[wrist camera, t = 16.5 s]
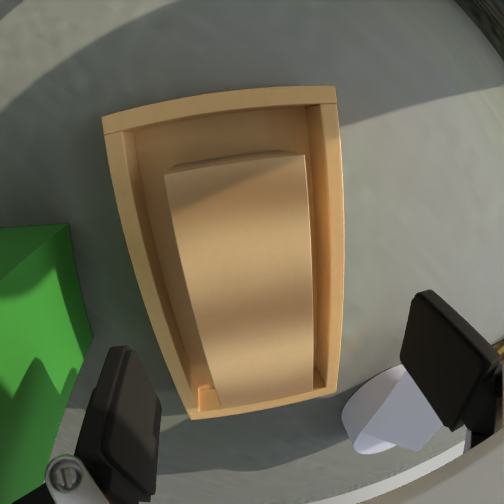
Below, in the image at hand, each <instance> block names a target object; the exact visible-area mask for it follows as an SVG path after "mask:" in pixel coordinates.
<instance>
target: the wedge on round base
mask: <svg viewBox="0 0 504 504" xmlns="http://www.w3.org/2000/svg"><path fill="white" fill-rule="evenodd" d="M341 420H342V423H343V425H344V427H345V429H346V431H347V433H348V436H349V438H350V440H351V442H352V444H353V447H354V449H355V450H356V451H357V452H358V453H361V454H373V453H378V452H381V451H384V450H387V449H390V448H392V447H394V446H396V445H398V446H400V447H403V448H406V449H409V450H412V451H415V452H418V451H419V450H420V449H421V448H422V447H423V446H424V445H425V444H426V443H427V442H428V441H429V440H430V439H431V438H432V437H433V435H434V434H435V433H436V432H437V431H438V430H439V429H440V428H441V427H442V425H443V424H442V422H441V420H440V419H439V417H438V416H437V414H436V413H435V411H434V410H433V408H432V407H431V405H430V404H429V402H428V401H427V399H426V398H425V396H424V395H423V393H422V392H421V391H420V389H419V388H418V386H417V385H416V383H415V382H414V380H413V379H412V377H411V376H410V375H409V373H408V372H407V370H406V369H405V368H404V366H403V365H398V366H395V367H393V368H390V369H388V370H386V371H384V372H382V373H380V374H379V375H377V376H375V377H374V378H372V379H371V380H369V381H368V382H367V383H365V384H364V385H363V386H362V387H361V388H359V389H358V390H357V391H356V392H355V393H354V394H353V395H352V397H351V398H350V399H349V400H348V402H347V403H346V405H345V406H344V408H343V411H342V414H341Z"/></svg>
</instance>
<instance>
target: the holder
mask: <svg viewBox="0 0 504 504" xmlns="http://www.w3.org/2000/svg"><path fill="white" fill-rule="evenodd" d="M336 103H337V98H336V90H335V86H282V87H266V88H253V89H242V90H233V91H224V92H217V93H210V94H203V95H196V96H190V97H184V98H179V99H174V100H168V101H163V102H159V103H154V104H149V105H145V106H141V107H137V108H132V109H128V110H125V111H121V112H117V113H113V114H110V115H106V116H103V117H102V118H101V119H102V126H103V133H104V135H105V136H104V140H105V146H106V152H107V158H108V163H109V169H110V174H111V179H112V184H113V189H114V194H115V198H116V203H117V207H118V212H119V216H120V220H121V224H122V228H123V232H124V236H125V240H126V244H127V247H128V251H129V255H130V258H131V262H132V265H133V269H134V272H135V276H136V279H137V282H138V285H139V289H140V292H141V295H142V298H143V301H144V304H145V307H146V310H147V313H148V316H149V319H150V322H151V325H152V327H153V330H154V333H155V336H156V338H157V341H158V344H159V346H160V349H161V352H162V354H163V357H164V359H165V362H166V364H167V367H168V369H169V372H170V374H171V377H172V379H173V381H174V384H175V386H176V389H177V391H178V393H179V395H180V398H181V400H182V402H183V404H184V407H185V409H186V411H187V413H188V415H189V417H190V419H191V420H197V419H205V418H214V417H221V416H228V415H235V414H241V413H247V412H253V411H258V410H263V409H268V408H273V407H278V406H283V405H287V404H292V403H296V402H300V401H304V400H308V399H312V398H316V397H320V396H324V395H327V394H331V393H334V392H336V389H337V379H338V369H339V358H340V346H341V332H342V315H343V292H344V198H343V175H342V158H341V144H340V132H339V121H338V111H337V104H336ZM271 150H284V151H290V152H295V153H299V154H304V155H305V164H306V176H307V189H308V203H309V218H310V236H311V258H312V287H313V391H310V392H306V393H302V394H298V395H294V396H290V397H285V398H280V399H276V400H271V401H266V402H261V403H255V404H250V405H244V406H238V407H232V408H225V409H221V406H220V403H219V400H218V397H217V394H216V390H215V387H214V384H213V381H212V378H211V374H210V371H209V368H208V364H207V361H206V358H205V354H204V351H203V347H202V344H201V340H200V337H199V333H198V329H197V326H196V322H195V318H194V315H193V311H192V307H191V303H190V299H189V295H188V291H187V287H186V283H185V279H184V275H183V271H182V267H181V262H180V258H179V254H178V249H177V245H176V240H175V235H174V231H173V226H172V221H171V216H170V211H169V206H168V201H167V196H166V191H165V185H164V180H163V175H164V174H165V173H166V172H167V171H168V170H169V169H170V168H172V167H173V166H174V165H177V164H182V163H188V162H194V161H199V160H205V159H212V158H218V157H225V156H231V155H239V154H246V153H254V152H262V151H271Z"/></svg>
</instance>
